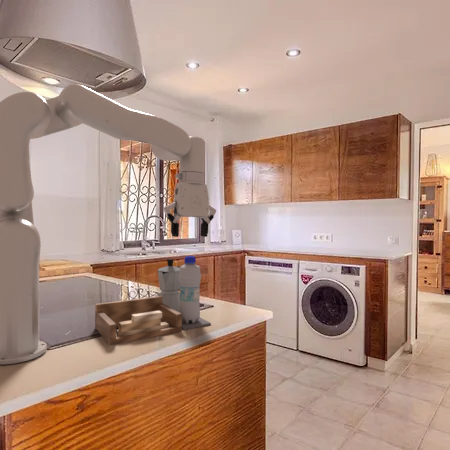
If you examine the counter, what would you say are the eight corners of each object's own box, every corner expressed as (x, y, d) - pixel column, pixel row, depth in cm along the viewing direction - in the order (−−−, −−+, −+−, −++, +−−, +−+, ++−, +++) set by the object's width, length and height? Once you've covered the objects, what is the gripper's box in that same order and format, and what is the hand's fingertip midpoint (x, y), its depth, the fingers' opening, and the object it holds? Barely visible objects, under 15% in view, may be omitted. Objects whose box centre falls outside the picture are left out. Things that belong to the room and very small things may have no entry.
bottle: (197, 325, 103) (197, 257, 103) (175, 323, 105) (175, 256, 104) (203, 319, 110) (203, 254, 109) (182, 317, 111) (183, 254, 110)
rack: (109, 344, 89) (109, 317, 89) (95, 328, 102) (95, 303, 101) (181, 331, 100) (181, 306, 100) (160, 317, 113) (160, 295, 112)
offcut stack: (119, 340, 92) (119, 318, 92) (116, 337, 94) (116, 316, 94) (168, 331, 100) (169, 311, 100) (165, 328, 102) (165, 309, 102)
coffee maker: (175, 318, 112) (175, 261, 111) (149, 316, 114) (149, 260, 113) (190, 306, 126) (191, 256, 126) (167, 304, 128) (167, 255, 128)
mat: (183, 329, 101) (183, 327, 101) (170, 321, 109) (170, 319, 109) (210, 324, 106) (210, 322, 106) (196, 317, 114) (196, 315, 114)
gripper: (170, 175, 98) (168, 237, 98) (222, 181, 107) (220, 237, 108) (159, 177, 104) (157, 235, 105) (210, 182, 114) (208, 235, 114)
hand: (189, 236), depth 106 cm, fingers open, 9 cm apart
